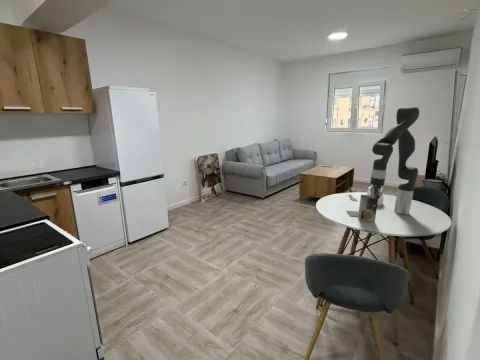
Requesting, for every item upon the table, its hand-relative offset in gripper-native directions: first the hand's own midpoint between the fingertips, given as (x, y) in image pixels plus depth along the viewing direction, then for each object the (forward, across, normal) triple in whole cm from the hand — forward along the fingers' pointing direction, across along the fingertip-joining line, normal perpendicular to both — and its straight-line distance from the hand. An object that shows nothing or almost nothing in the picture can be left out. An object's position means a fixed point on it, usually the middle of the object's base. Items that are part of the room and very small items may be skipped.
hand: (373, 204), depth 159 cm
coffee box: (+14, -8, 0) cm, 16 cm away
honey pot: (+14, -48, +18) cm, 53 cm away
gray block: (+14, -18, -1) cm, 22 cm away
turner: (+14, -56, +4) cm, 57 cm away
